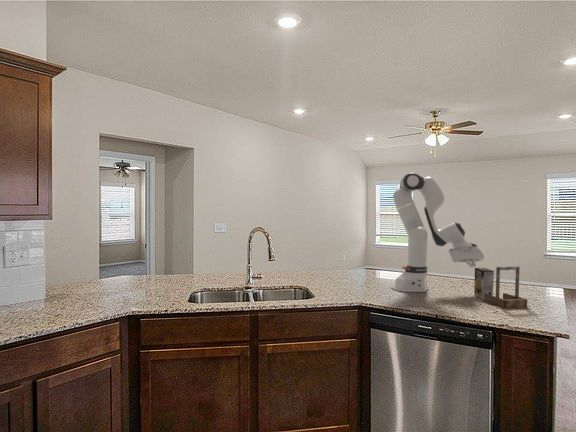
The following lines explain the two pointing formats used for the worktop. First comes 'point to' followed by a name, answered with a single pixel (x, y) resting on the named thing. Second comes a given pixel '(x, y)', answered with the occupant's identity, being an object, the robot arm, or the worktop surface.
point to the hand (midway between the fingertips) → (473, 266)
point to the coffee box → (483, 282)
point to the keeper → (508, 299)
